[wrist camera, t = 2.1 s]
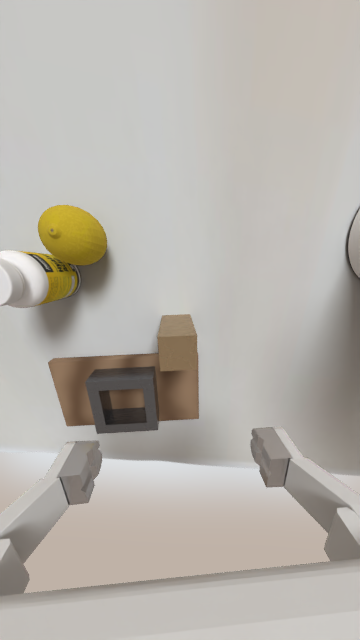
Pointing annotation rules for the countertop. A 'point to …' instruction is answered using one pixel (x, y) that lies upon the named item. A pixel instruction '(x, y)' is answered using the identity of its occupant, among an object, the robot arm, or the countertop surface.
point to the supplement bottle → (35, 279)
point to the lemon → (72, 235)
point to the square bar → (177, 343)
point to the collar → (125, 417)
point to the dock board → (171, 385)
